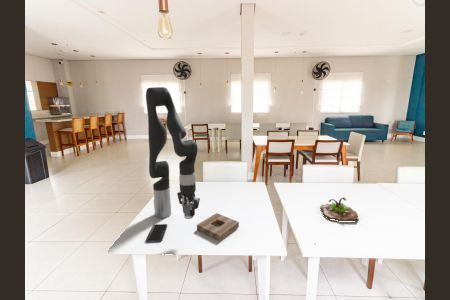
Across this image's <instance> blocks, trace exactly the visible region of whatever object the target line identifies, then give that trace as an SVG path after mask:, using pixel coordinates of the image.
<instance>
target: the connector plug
mask: <svg viewBox="0 0 450 300" xmlns="http://www.w3.org/2000/svg"><path fill="white" fill-rule="evenodd" d="M192 207H193V205H192ZM183 216H184V219H186V220H190V219H193V218H194V216H192V217H191V216H190V206H189V205H188V202H187V203H185V204H184V213H183Z"/></svg>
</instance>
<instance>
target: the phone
mask: <svg viewBox="0 0 450 300" xmlns="http://www.w3.org/2000/svg"><path fill="white" fill-rule="evenodd" d="M167 228H168V224H166V223H161V224H157V223H156V224H153V225H152V226H151V229H150V230H149V233H148V235H147V237H146V240H145V242H146V243H161V242H162V241H163V239H164V237H165V234H166V231H167Z"/></svg>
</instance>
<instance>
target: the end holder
mask: <svg viewBox="0 0 450 300" xmlns="http://www.w3.org/2000/svg"><path fill="white" fill-rule="evenodd" d="M217 225H218V226H217ZM239 226H240V222H239V221H237V220H235V219H233V218H231V217H228V216H225V215H222V214H221V213H218V212H216V213H214V214H212V215H211V216H209V217H207V218H206V219H204V220H203V221H201V222H199V223H197V224H196V230H197V231H198V232H200V233H203V234H205V235H206V236H209V237H211V238H213V239H214V240H215V239H216V240H217V241H219V242H220V241H222V240H224V239H225V238H226V237H228V236H229V235H230V234H231V233H233V232H234V231H236V230H237V229H238V228H239Z"/></svg>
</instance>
